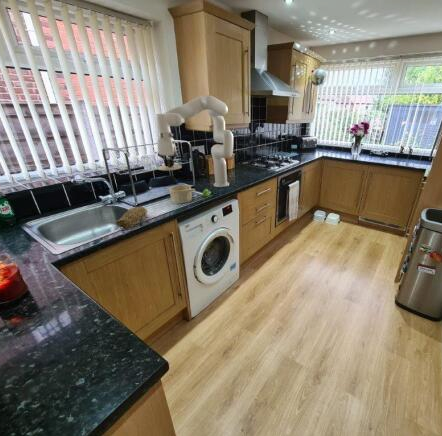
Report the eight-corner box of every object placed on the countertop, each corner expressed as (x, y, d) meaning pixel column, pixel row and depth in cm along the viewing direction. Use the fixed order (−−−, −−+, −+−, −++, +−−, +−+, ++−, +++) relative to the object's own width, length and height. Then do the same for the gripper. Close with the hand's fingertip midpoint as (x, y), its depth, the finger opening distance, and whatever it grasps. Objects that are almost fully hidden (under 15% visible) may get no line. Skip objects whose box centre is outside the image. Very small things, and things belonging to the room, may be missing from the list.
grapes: (204, 193, 176) (204, 187, 174) (211, 194, 176) (210, 187, 174) (200, 198, 168) (199, 191, 166) (207, 198, 167) (206, 192, 165)
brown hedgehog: (134, 232, 125) (156, 210, 140) (125, 220, 120) (150, 199, 136) (115, 233, 129) (139, 212, 145) (107, 221, 125) (132, 201, 140)
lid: (164, 166, 163) (162, 156, 160) (185, 166, 161) (184, 156, 159) (153, 171, 149) (151, 161, 147) (176, 171, 148) (174, 161, 145)
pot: (173, 196, 172) (171, 184, 169) (198, 196, 170) (197, 185, 167) (164, 202, 160) (161, 190, 157) (191, 203, 158) (190, 191, 154)
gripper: (180, 135, 150) (184, 165, 157) (155, 135, 151) (160, 164, 159) (174, 136, 143) (179, 167, 150) (148, 136, 144) (154, 167, 152)
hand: (169, 165), depth 154 cm, fingers closed on lid, 2 cm apart
